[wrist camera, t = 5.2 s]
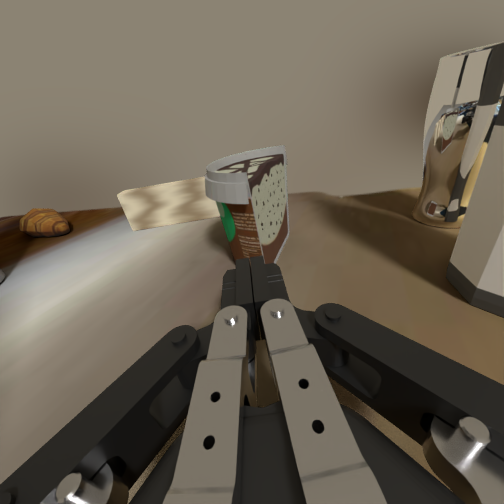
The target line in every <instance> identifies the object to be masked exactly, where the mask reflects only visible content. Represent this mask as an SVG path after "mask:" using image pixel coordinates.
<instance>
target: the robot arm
mask: <svg viewBox="0 0 504 504" xmlns="http://www.w3.org/2000/svg"><path fill="white" fill-rule="evenodd" d="M250 263H251V265H250ZM4 277H5V274H4V273H3V271H2V270H1V269H0V282H1V281H2V280H3V279H4ZM258 322H259V323H258ZM259 328H260V332H259ZM260 333H261V338H262V340H263V339H265V340H266V346H267V351H268V356H269V361H270V365H271V370H272V374H273V379H274V383H275V388H276V392H277V397H278V402H276V403H273V404H271V405H269V406H267V407H264V408H259V407H258V406H257V356H256V341H257V340H260ZM327 375H328V376H330V377H331V378H332V379H334V380H335V381H336V382H338V383H339V384H340V385H342V386H343V387H344V388H346V389H347V390H348V391H350V392H351V393H352V394H354V395H355V396H356V397H358V398H359V399H360V400H362V401H363V402H364V403H366V404H367V405H368V406H370V407H371V408H372V409H374V410H375V411H376V412H377V413H379V414H380V415H381V416H383V417H384V418H385V419H387V420H388V421H389V422H391V423H392V424H393V425H395V426H396V427H397V428H399V429H400V430H401V431H403V432H404V433H405V434H407V435H408V436H409V437H411V438H412V439H413V440H415V441H416V442H417V443H419V444H420V445H421V446H423V453H424V456H425V458H426V461H427V463H428V464H429V466H430V468H431V469H432V471H433V472H434V473H435V474H436V475H437V477H438V478H439V479H440V480H442V481H443V482H444V483H445V484H446V485H447V486H448V487H449V488H450V490H449V489H448V488H447V487H446V486H445V485H443V484H442V483H441V482H440V481H439V480H437V479H436V478H435V477H434V476H433V475H432V474H430V473H429V472H428V471H427V470H426V469H424V468H423V467H422V466H421V465H420V464H419V463H417V462H416V461H415V460H414V459H413V458H411V457H410V456H409V455H408V454H407V453H405V452H404V451H403V450H402V449H401V448H400V447H398V446H397V445H396V444H395V443H394V442H392V441H391V440H390V439H389V438H388V437H386V436H385V435H384V434H383V433H382V432H381V431H379V430H378V429H377V428H376V427H375V426H373V425H372V424H371V423H370V422H369V421H368V420H366V419H365V418H364V417H363V416H361V415H360V414H358V413H357V412H355V411H354V410H352V409H350V408H348V407H346V406H344V405H342V404H339V402H338V400H337V397H336V395H335V393H334V390H333V388H332V386H331V384H330V381H329V379H328V377H327ZM186 416H187V420H186V424H185V429H184V431H183V432H182V433H181V434H180V435H179V436H178V437H177V438H176V440H175V441H174V442H173V443H172V444H171V446H170V447H169V448H168V450H167V451H166V453H165V454H164V455H163V457H162V458H161V460H160V461H159V462H158V464H157V465H156V466H155V468H154V469H153V471H152V472H151V473H150V475H149V476H148V478H147V479H146V480H145V482H144V483H143V485H142V486H141V487H140V489H139V490H138V491H137V493H136V494H135V496H134V497H133V498H132V500H131V501H130V503H129V504H504V385H502V384H500V383H498V382H496V381H494V380H492V379H490V378H488V377H486V376H484V375H482V374H480V373H478V372H476V371H474V370H472V369H470V368H468V367H466V366H464V365H462V364H460V363H458V362H456V361H454V360H451V359H449V358H447V357H445V356H443V355H441V354H439V353H437V352H435V351H433V350H431V349H429V348H427V347H425V346H423V345H421V344H419V343H417V342H415V341H413V340H411V339H409V338H407V337H405V336H403V335H401V334H399V333H397V332H395V331H393V330H391V329H389V328H387V327H385V326H383V325H380V324H378V323H376V322H374V321H372V320H370V319H368V318H366V317H364V316H362V315H360V314H358V313H356V312H354V311H352V310H350V309H348V308H346V307H344V306H342V305H339V304H335V303H327V304H323V305H321V306H319V307H318V308H317V309H316V311H315V312H313V311H305V310H300V309H298V308H296V307H295V306H293V305H292V304H291V302H290V300H289V297H288V294H287V291H286V287H285V284H284V280H283V277H282V274H281V270H280V267H279V266H277V265H276V264H275V263H269V264H265V262H264V257H263V255H261V256H255V257H250V260H249V258H243V259H237V260H236V269H232V270H227V272H226V273H225V275H224V276H223V285H222V298H221V310H220V311H219V312H218V313H217V315H216V316H215V320H214V322H213V323H212V324H210V325H208V326H206V327H204V328H202V329H199V330H197V331H196V330H195V329H194V328H193V327H192V326H189V325H183V326H179V327H176V328H174V329H172V330H171V331H170V332H168V333H167V334H166V335H165V336H164V337H163V338H162V339H161V340H159V341H158V342H157V343H156V344H155V345H154V346H153V347H152V348H151V349H150V350H148V351H147V352H146V353H145V354H144V355H143V356H142V357H141V358H140V359H138V360H137V361H136V362H135V363H134V364H133V365H132V366H131V367H130V368H129V369H127V370H126V371H125V372H124V373H123V374H122V375H121V376H120V377H119V378H118V379H116V380H115V381H114V382H113V383H112V384H111V385H110V386H109V387H108V388H106V389H105V390H104V391H103V392H102V393H101V394H100V395H99V396H98V397H97V398H95V399H94V400H93V401H92V402H91V403H90V404H89V405H88V406H87V407H86V408H84V409H83V410H82V411H81V412H80V413H79V414H78V415H77V416H76V417H74V418H73V419H72V420H71V421H70V422H69V423H68V424H67V425H66V426H65V427H63V428H62V429H61V430H60V431H59V432H58V433H57V434H56V435H55V436H53V437H52V438H51V439H50V440H49V441H48V442H47V443H46V444H45V445H44V446H42V447H41V448H40V449H39V450H38V451H37V452H36V453H35V454H34V455H33V456H31V457H30V458H29V459H28V460H27V461H26V462H25V463H24V464H23V465H21V466H20V467H19V468H18V469H17V470H16V471H15V472H14V473H13V474H12V475H10V476H9V477H8V478H7V479H6V480H5V481H4V482H3V483H2V484H0V504H127V503H128V498H129V490H130V489H131V487H132V486H133V485H134V483H135V482H136V481H137V480H138V478H139V477H140V476H141V474H142V473H143V472H144V470H145V469H146V468H147V467H148V465H149V464H150V463H151V461H152V460H153V459H154V458H155V456H156V455H157V454H158V452H159V451H160V450H161V449H162V447H163V446H164V445H165V443H166V442H167V441H168V440H169V438H170V437H171V436H172V434H173V433H174V432H175V431H176V429H177V428H178V427H179V425H180V424H181V423H182V422H183V420H184V419H185V418H186Z"/></svg>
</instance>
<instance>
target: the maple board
mask: <svg viewBox="0 0 504 504" xmlns="http://www.w3.org/2000/svg"><path fill="white" fill-rule="evenodd" d="M117 197H118V199H119V201H120V203H121V205H122V208H123V210H124V212H125V214H126V217H127V219H128V221H129V223H130V225H131V228H132V230H133V231H136V230H142V229H148V228H154V227H160V226H166V225H172V224H178V223H184V222H190V221H196V220H202V219H208V218H214V217H220V214H219V210H218V207H217V204H216V201H214V200H211V199H210V198H208V197H207V196H206V193H205V177H200V178H194V179H189V180H183V181H177V182H171V183H165V184H159V185H153V186H147V187H142V188H136V189H130V190H124V191H122V192H121V193H119V194H118V195H117Z"/></svg>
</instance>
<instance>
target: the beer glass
mask: <svg viewBox="0 0 504 504" xmlns="http://www.w3.org/2000/svg"><path fill="white" fill-rule="evenodd" d="M503 97H504V42H500V43H495V44H491V45H487V46H483V47H478V48H474V49H470V50H466V51H462V52H458V53H455V54H451V55H448V56H445V57H443V58H441V59H440V63H439V68H438V72H437V75H436V79H435V82H434V85H433V89H432V93H431V97H430V101H429V106H428V110H427V115H426V121H425V128H424V149H423V153H424V154H423V181H422V187H421V191H420V194H419V197H418V199H417V202H416V204H415V206H414V208H413V211H412V217H413V218H414V219H415V220H417V221H418V222H421V223H423V224H426V225H430V226H435V227H442V228H461V225H462V222H463V219H464V216H465V213H466V210H467V207H468V204H469V200H470V197H471V194H472V191H473V188H474V185H475V182H476V179H477V176H478V173H479V170H480V167H481V164H482V161H483V158H484V155H485V152H486V149H487V146H488V143H489V140H490V137H491V134H492V131H493V127H494V124H495V121H496V118H497V115H498V112H499V109H500V106H501V103H502V100H503Z"/></svg>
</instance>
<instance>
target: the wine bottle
mask: <svg viewBox="0 0 504 504" xmlns="http://www.w3.org/2000/svg"><path fill="white" fill-rule="evenodd" d="M446 278H447V279H448V280H449V281H450V283H451V284H452V285H453V286H454V287H455V288H456V289H457V290H458V291H459V292H460V294H461V295H462V296H463V297H464V298H465V299H466V300H467V301H468V302H469V304H470V305H473V306H475V307H478V308H480V309H483V310H485V311H488V312H491V313H493V314H496V315H498V316H501V317H503V318H504V97H503V100H502V103H501V106H500V109H499V112H498V115H497V118H496V121H495V124H494V127H493V131H492V134H491V137H490V140H489V143H488V146H487V149H486V152H485V155H484V158H483V161H482V164H481V167H480V170H479V173H478V176H477V179H476V182H475V185H474V188H473V191H472V194H471V197H470V200H469V204H468V207H467V210H466V213H465V216H464V219H463V222H462V225H461V228H460V231H459V234H458V237H457V240H456V243H455V246H454V249H453V252H452V255H451V258H450V261H449V265H448V268H447V275H446Z"/></svg>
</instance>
